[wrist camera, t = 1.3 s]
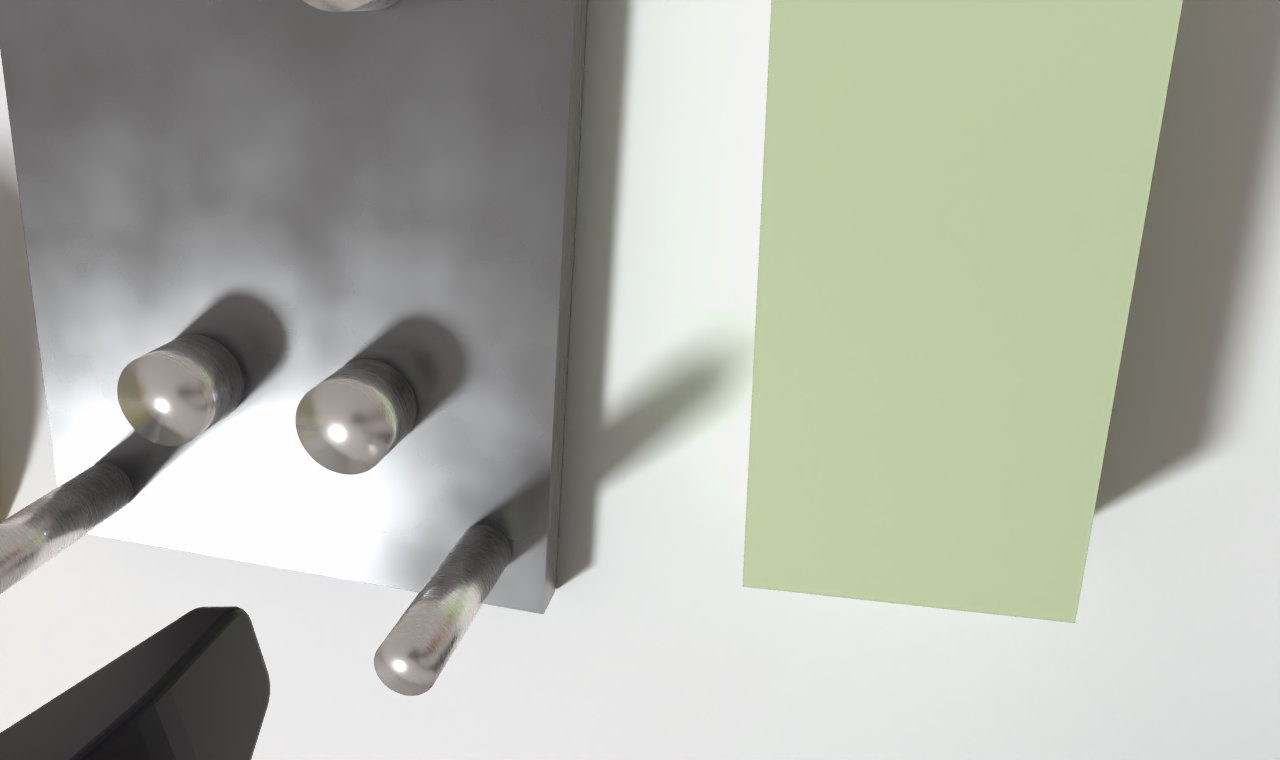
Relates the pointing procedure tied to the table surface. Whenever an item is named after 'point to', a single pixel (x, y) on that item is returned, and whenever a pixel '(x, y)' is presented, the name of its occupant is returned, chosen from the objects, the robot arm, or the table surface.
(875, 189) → the board
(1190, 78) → the table surface
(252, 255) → the chassis
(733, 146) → the table surface
